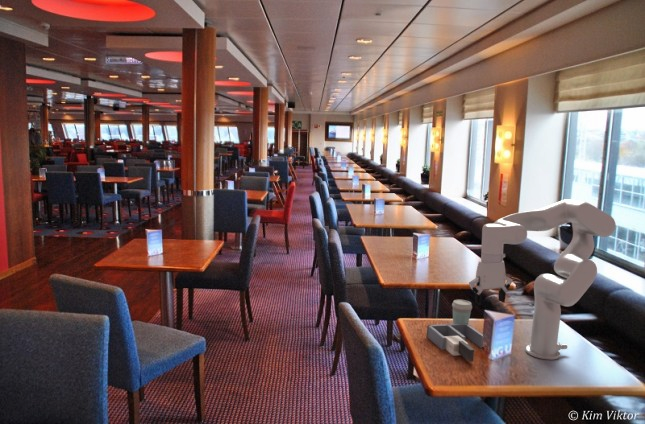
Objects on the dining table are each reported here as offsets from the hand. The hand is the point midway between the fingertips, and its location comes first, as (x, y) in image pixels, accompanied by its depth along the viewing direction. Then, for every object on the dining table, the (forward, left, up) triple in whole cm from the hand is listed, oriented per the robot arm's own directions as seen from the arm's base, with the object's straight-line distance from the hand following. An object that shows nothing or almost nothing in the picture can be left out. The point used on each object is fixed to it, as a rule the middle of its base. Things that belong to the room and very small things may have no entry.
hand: (489, 302), depth 196 cm
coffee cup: (-6, -31, -22) cm, 39 cm away
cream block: (+8, -4, -22) cm, 24 cm away
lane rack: (+4, -17, -22) cm, 28 cm away
